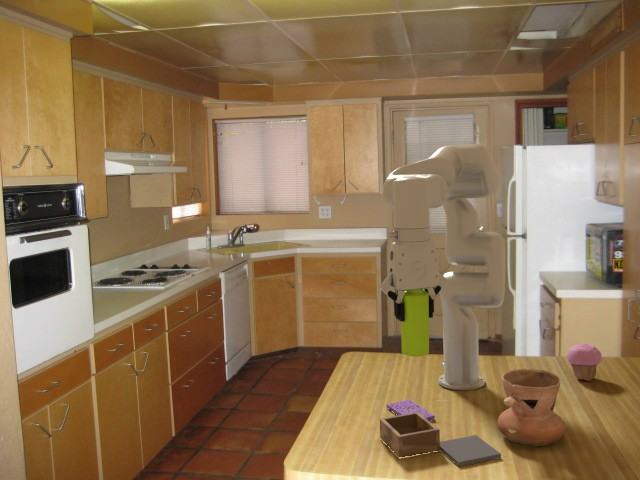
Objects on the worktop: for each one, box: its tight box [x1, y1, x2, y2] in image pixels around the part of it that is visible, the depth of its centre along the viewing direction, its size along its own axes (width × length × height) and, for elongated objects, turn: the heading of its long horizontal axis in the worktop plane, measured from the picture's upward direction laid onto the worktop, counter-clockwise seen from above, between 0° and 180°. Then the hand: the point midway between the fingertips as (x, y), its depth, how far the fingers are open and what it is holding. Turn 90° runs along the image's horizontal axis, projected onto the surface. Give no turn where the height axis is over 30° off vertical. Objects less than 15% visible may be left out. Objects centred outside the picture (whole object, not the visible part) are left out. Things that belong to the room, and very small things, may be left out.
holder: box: [379, 412, 441, 458], centre depth 146 cm, size 11×10×5 cm
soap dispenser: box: [400, 289, 430, 357], centre depth 142 cm, size 6×7×20 cm
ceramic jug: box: [497, 368, 567, 447], centre depth 147 cm, size 18×14×14 cm
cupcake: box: [566, 343, 603, 382], centre depth 182 cm, size 9×9×10 cm
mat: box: [440, 434, 502, 467], centre depth 142 cm, size 10×10×1 cm
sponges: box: [386, 398, 436, 422], centre depth 164 cm, size 7×13×2 cm, turn 21°
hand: (414, 317), depth 142 cm, fingers closed on soap dispenser, 5 cm apart
